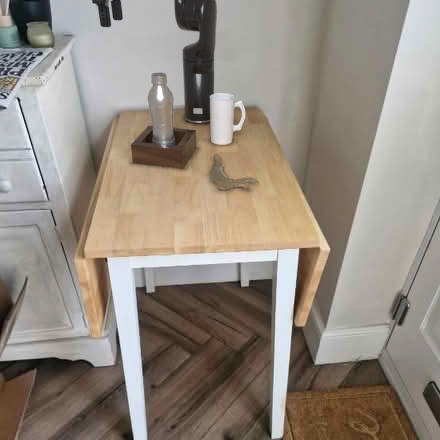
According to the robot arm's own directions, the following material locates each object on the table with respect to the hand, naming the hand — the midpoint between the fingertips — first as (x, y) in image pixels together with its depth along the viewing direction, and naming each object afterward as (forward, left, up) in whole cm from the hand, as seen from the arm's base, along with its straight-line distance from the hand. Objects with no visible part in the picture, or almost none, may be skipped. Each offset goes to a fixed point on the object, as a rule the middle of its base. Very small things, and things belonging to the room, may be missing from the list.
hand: (112, 23), depth 96 cm
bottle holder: (-1, +10, -30) cm, 32 cm away
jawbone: (+5, +30, -30) cm, 43 cm away
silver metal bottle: (-1, +10, -30) cm, 32 cm away
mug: (-15, +24, -30) cm, 41 cm away
